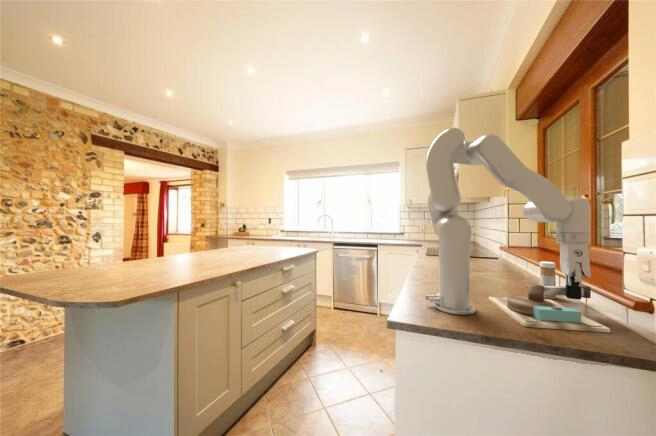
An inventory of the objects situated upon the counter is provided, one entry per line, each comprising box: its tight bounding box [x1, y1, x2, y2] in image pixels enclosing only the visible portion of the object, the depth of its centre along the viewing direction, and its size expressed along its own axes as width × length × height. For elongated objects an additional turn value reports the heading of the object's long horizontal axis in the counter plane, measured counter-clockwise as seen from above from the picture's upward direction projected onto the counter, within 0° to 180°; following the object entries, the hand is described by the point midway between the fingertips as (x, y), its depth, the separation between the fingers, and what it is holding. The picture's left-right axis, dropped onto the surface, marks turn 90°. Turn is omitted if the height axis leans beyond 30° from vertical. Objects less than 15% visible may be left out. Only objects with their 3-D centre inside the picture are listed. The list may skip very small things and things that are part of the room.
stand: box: [488, 296, 612, 333], centre depth 82 cm, size 20×25×1 cm
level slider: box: [533, 306, 582, 323], centre depth 74 cm, size 10×3×3 cm, turn 78°
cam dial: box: [506, 283, 592, 315], centre depth 82 cm, size 22×16×7 cm
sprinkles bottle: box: [539, 260, 557, 300], centre depth 98 cm, size 5×5×14 cm
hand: (573, 298), depth 79 cm, fingers closed
